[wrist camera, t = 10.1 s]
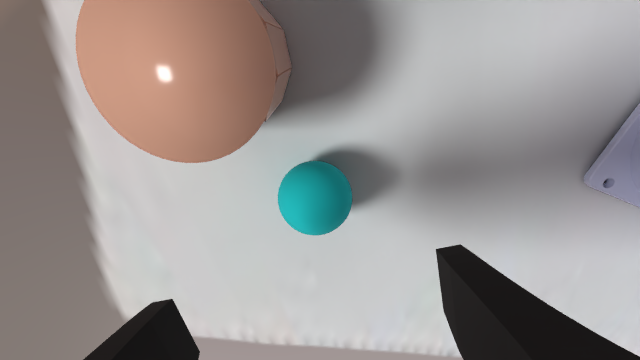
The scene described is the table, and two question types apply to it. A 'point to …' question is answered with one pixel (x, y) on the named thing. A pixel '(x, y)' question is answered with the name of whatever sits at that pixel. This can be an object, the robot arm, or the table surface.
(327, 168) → the teal ball
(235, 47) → the peach domed cylinder
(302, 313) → the table surface
